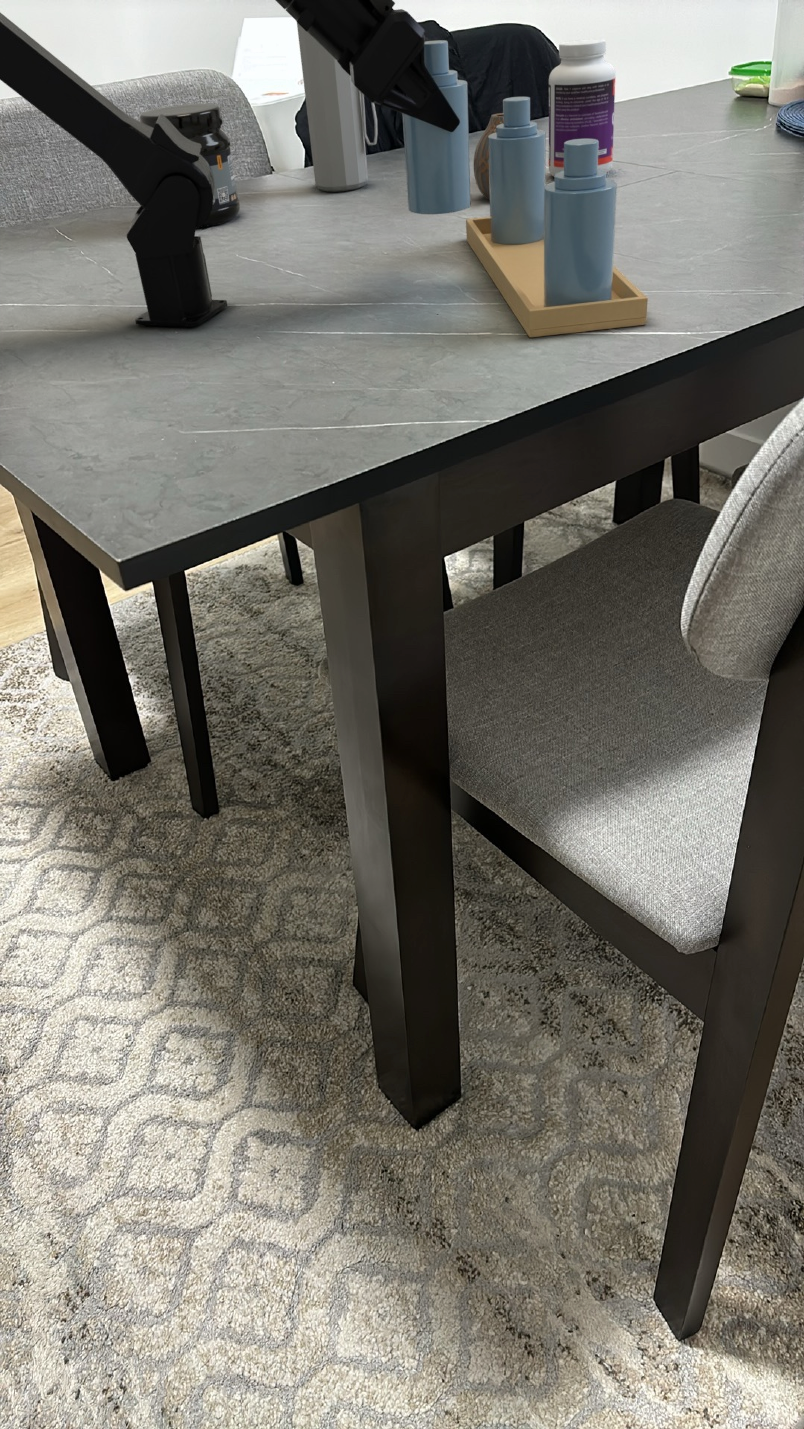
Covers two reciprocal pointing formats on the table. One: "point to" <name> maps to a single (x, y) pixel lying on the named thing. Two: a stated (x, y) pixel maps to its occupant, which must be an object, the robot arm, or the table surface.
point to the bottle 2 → (579, 229)
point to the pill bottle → (581, 101)
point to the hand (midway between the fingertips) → (451, 122)
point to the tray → (524, 282)
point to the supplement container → (206, 151)
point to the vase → (485, 156)
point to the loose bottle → (439, 145)
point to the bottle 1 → (517, 176)
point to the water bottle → (334, 119)
